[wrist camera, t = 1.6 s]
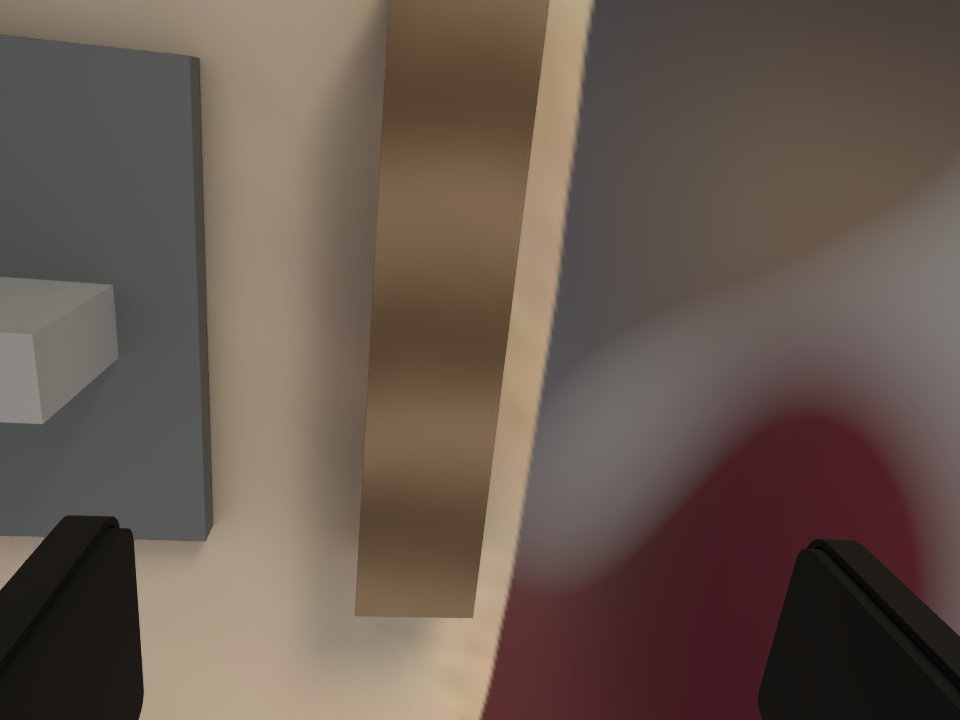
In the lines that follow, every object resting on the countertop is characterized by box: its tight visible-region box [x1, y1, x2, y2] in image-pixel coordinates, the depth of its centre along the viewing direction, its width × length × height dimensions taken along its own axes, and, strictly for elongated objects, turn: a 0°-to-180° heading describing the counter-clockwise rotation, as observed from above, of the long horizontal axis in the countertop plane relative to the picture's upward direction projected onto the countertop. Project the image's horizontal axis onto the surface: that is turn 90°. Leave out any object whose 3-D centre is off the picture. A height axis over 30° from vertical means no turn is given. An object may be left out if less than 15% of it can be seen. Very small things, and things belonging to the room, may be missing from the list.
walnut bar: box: [355, 0, 549, 618], centre depth 22 cm, size 20×4×4 cm, turn 174°
